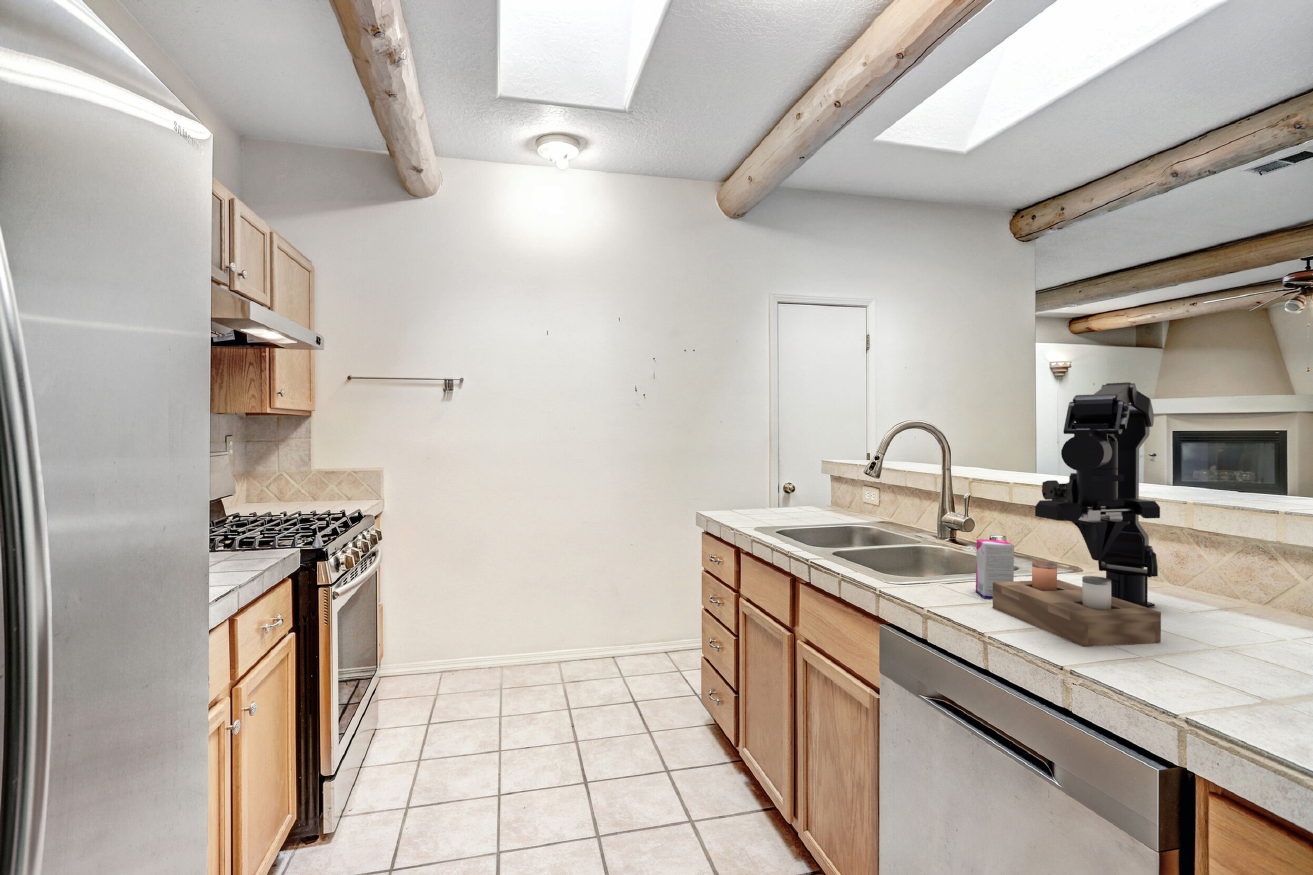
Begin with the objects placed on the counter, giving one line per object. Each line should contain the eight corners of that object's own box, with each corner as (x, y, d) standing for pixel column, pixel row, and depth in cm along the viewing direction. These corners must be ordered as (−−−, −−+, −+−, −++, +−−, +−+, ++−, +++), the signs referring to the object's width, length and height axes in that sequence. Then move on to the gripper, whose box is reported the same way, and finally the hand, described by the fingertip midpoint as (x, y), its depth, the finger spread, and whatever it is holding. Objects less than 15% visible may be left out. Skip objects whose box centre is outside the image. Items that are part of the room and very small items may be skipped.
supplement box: (1014, 600, 126) (1014, 544, 126) (983, 598, 127) (983, 543, 127) (1004, 592, 132) (1004, 539, 132) (974, 591, 133) (974, 538, 133)
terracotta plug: (1046, 589, 119) (1046, 561, 119) (1062, 594, 115) (1062, 565, 115) (1027, 590, 119) (1027, 561, 118) (1042, 595, 115) (1042, 566, 114)
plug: (1097, 607, 107) (1097, 575, 107) (1117, 613, 103) (1117, 581, 103) (1076, 608, 107) (1076, 576, 107) (1095, 614, 103) (1095, 582, 103)
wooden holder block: (1058, 604, 123) (1058, 579, 123) (1160, 642, 101) (1160, 611, 101) (992, 607, 121) (992, 582, 121) (1082, 646, 99) (1082, 615, 99)
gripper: (1106, 464, 114) (1106, 549, 114) (1012, 466, 112) (1013, 552, 112) (1163, 468, 103) (1162, 562, 103) (1060, 470, 100) (1060, 565, 101)
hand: (1096, 559), depth 105 cm, fingers closed
